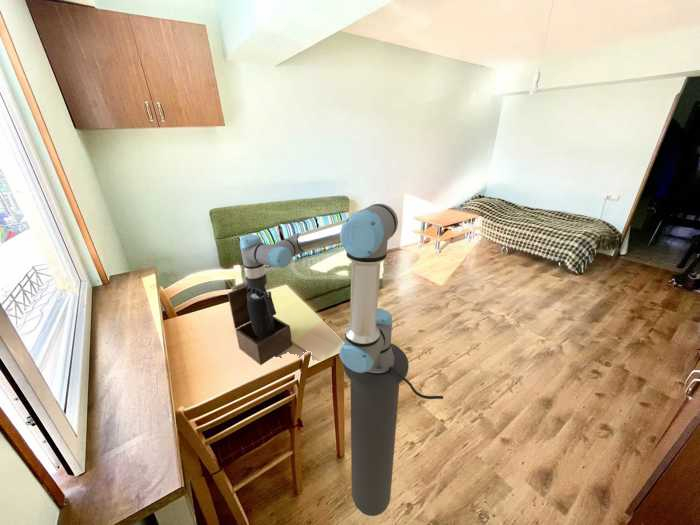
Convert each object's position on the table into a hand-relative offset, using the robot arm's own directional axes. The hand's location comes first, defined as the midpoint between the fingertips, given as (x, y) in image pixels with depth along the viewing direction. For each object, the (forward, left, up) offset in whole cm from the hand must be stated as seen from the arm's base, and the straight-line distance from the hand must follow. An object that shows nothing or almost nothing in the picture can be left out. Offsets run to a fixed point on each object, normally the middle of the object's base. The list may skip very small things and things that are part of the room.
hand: (263, 323), depth 116 cm
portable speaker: (0, 0, -4) cm, 4 cm away
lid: (+9, 0, +6) cm, 11 cm away
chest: (+1, 0, -12) cm, 13 cm away
